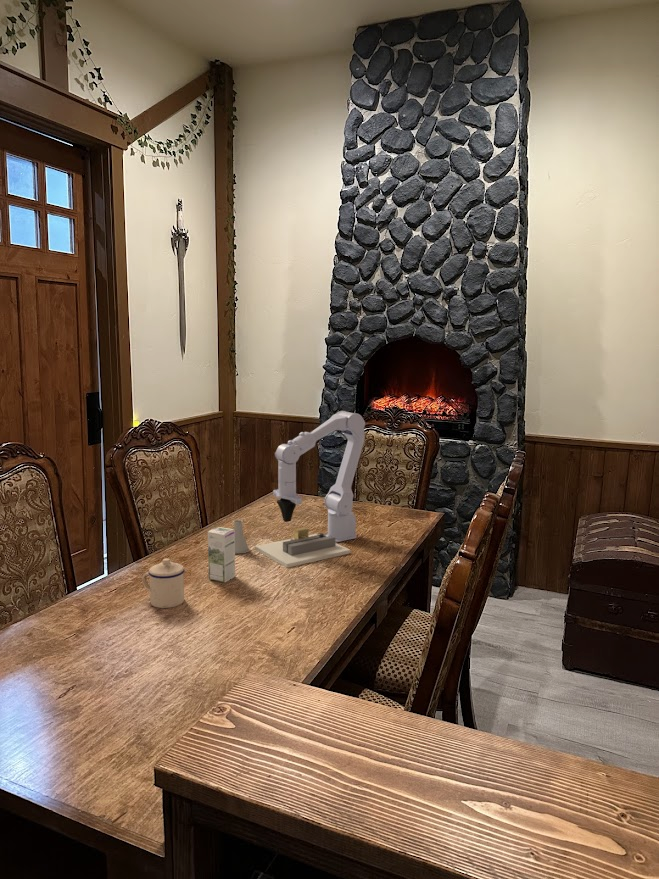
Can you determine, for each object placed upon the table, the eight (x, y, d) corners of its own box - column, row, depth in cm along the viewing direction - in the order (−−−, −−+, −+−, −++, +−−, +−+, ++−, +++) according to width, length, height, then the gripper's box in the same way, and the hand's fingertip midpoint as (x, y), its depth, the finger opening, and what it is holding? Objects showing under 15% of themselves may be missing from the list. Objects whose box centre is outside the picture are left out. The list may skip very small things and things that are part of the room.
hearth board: (315, 537, 224) (315, 525, 223) (350, 553, 208) (350, 540, 207) (254, 549, 210) (254, 537, 209) (286, 567, 194) (286, 554, 193)
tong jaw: (322, 542, 214) (322, 532, 213) (325, 544, 212) (326, 534, 211) (282, 551, 205) (282, 540, 205) (286, 553, 203) (286, 542, 203)
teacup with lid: (191, 598, 171) (191, 556, 169) (172, 611, 162) (171, 567, 161) (153, 591, 175) (152, 550, 173) (132, 604, 166) (131, 561, 165)
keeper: (304, 539, 217) (304, 526, 216) (308, 541, 215) (308, 528, 214) (294, 541, 214) (294, 528, 214) (298, 543, 212) (298, 530, 212)
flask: (251, 547, 212) (251, 518, 210) (246, 555, 205) (246, 524, 203) (230, 546, 213) (229, 517, 211) (224, 553, 206) (224, 523, 204)
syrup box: (236, 576, 186) (235, 528, 184) (224, 583, 181) (223, 534, 179) (219, 573, 189) (218, 525, 186) (207, 580, 183) (206, 531, 181)
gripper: (265, 478, 213) (265, 517, 215) (288, 486, 202) (288, 528, 204) (283, 475, 217) (283, 514, 219) (307, 484, 206) (307, 524, 208)
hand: (287, 521), depth 212 cm, fingers closed
